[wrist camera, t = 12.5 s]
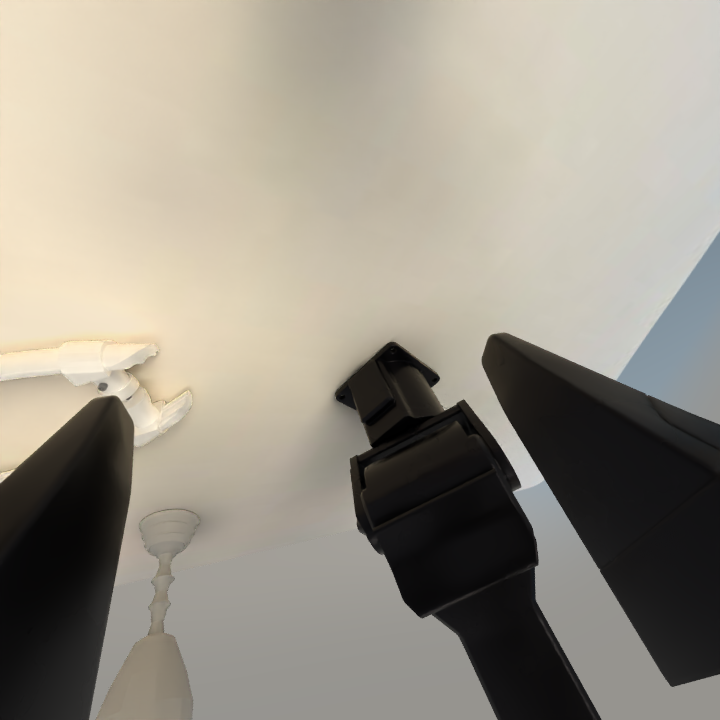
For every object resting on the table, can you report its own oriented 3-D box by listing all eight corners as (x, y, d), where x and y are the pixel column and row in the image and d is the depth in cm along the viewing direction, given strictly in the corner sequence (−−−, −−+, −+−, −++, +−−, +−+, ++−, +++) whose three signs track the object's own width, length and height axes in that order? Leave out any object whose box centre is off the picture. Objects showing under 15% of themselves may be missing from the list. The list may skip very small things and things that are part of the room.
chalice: (211, 537, 37) (199, 808, 23) (135, 549, 34) (74, 856, 21) (208, 497, 32) (191, 803, 19) (120, 508, 30) (32, 863, 17)
